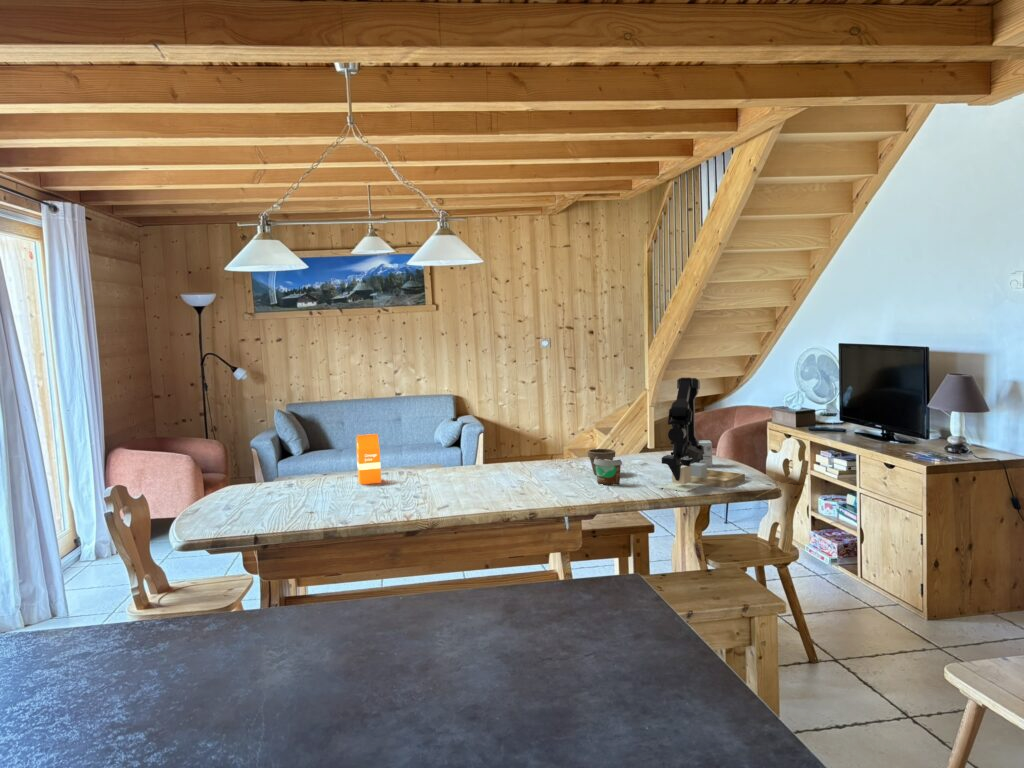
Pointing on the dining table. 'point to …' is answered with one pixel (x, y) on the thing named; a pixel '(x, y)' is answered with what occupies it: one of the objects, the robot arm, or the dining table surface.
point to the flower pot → (600, 456)
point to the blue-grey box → (699, 470)
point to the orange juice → (368, 459)
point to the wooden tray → (719, 478)
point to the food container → (608, 471)
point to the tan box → (683, 475)
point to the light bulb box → (707, 452)
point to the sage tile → (681, 487)
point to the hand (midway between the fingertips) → (681, 479)
